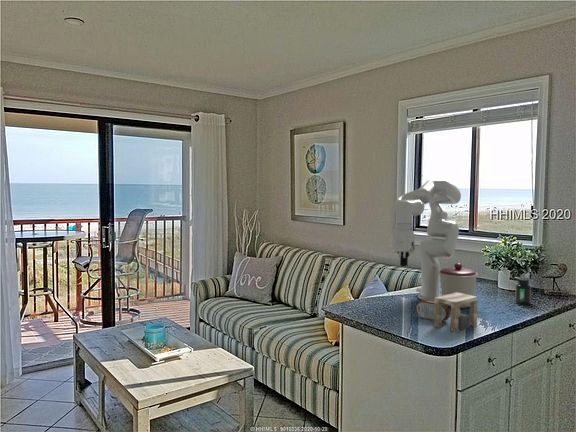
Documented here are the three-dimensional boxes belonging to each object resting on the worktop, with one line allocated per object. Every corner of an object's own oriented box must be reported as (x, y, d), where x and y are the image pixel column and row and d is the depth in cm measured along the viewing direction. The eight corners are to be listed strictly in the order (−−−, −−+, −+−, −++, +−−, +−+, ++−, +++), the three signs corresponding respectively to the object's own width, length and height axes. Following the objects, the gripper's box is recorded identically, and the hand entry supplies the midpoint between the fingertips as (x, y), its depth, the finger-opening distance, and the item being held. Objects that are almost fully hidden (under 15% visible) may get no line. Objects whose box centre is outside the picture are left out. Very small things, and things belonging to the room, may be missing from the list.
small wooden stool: (434, 326, 190) (434, 297, 189) (456, 320, 198) (456, 292, 197) (455, 332, 181) (455, 302, 181) (476, 325, 190) (477, 296, 189)
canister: (481, 311, 211) (481, 267, 210) (441, 309, 215) (441, 266, 213) (473, 301, 229) (474, 260, 227) (436, 300, 232) (436, 259, 231)
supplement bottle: (523, 305, 220) (524, 281, 219) (512, 302, 226) (512, 278, 225) (533, 304, 222) (534, 280, 222) (522, 300, 229) (522, 277, 228)
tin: (450, 322, 196) (450, 303, 195) (447, 323, 193) (447, 304, 193) (417, 315, 206) (417, 297, 205) (414, 317, 203) (414, 299, 203)
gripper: (386, 226, 214) (386, 264, 215) (411, 228, 202) (411, 269, 203) (397, 225, 218) (397, 262, 219) (422, 227, 206) (422, 267, 207)
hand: (403, 265), depth 211 cm, fingers closed
